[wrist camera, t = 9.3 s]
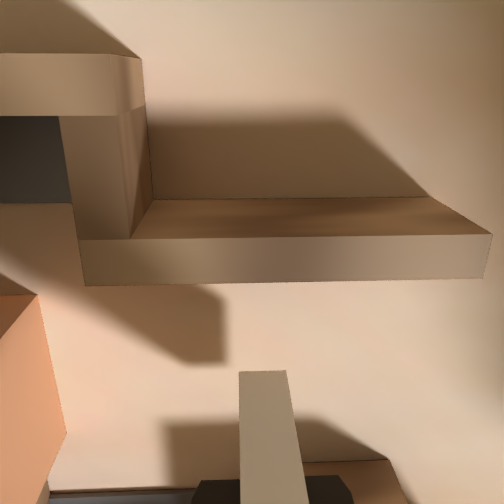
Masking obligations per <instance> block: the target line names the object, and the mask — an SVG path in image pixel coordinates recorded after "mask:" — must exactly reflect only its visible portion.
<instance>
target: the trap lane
mask: <svg viewBox="0 0 504 504" xmlns="http://www.w3.org/2000/svg"><path fill="white" fill-rule="evenodd" d="M0 203H72V205H73V212H74V218H75V224H76V231H77V237H78V243H79V250H80V256H81V263H82V269H83V275H84V282H85V286H117V285H169V284H221V283H273V282H325V281H377V280H429V279H481V278H483V276H484V272H485V267H486V263H487V258H488V254H489V249H490V245H491V240H492V236H493V234H492V233H490V232H488V231H487V230H485V229H483V228H482V227H480V226H479V225H477V224H475V223H474V222H472V221H470V220H469V219H467V218H465V217H464V216H462V215H460V214H459V213H457V212H456V211H454V210H452V209H451V208H449V207H447V206H446V205H444V204H442V203H441V202H439V201H437V200H436V199H434V198H432V197H392V198H297V199H202V200H153V189H152V178H151V166H150V154H149V142H148V130H147V119H146V107H145V95H144V83H143V71H142V59H138V58H132V57H127V56H121V55H115V54H91V53H0ZM302 466H303V472H304V476H320V475H339V477H340V478H341V479H342V481H343V482H344V483H345V485H346V486H347V487H348V489H349V490H350V491H351V494H352V497H353V501H354V504H408V503H407V501H406V498H405V496H404V493H403V491H402V489H401V486H400V484H399V481H398V479H397V477H396V474H395V472H394V469H393V467H392V465H391V462H390V460H371V461H345V462H319V463H302ZM196 490H197V489H174V490H149V491H124V492H100V493H75V494H50V490H49V486H48V482H47V479H46V482H45V484H44V486H43V489H42V491H41V493H40V495H39V498H38V500H37V502H36V504H191V499H192V497H193V495H194V493H195V492H196Z"/></svg>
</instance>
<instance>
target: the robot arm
mask: <svg viewBox="0 0 504 504" xmlns="http://www.w3.org/2000/svg"><path fill="white" fill-rule="evenodd" d="M239 428H240V479H234V480H204V481H201V482H200V484H199V486H198V488H197V490H196V492H195V493H194V495H193V497H192V499H191V504H354V501H353V497H352V494H351V491H350V490H349V489H348V487H347V486H346V485H345V483H344V482H343V481H342V479H341V478H340V477H339V475H320V476H304V472H303V466H302V460H301V454H300V449H299V443H298V437H297V431H296V426H295V420H294V414H293V408H292V403H291V397H290V391H289V385H288V379H287V374H286V370H283V371H243V372H239Z"/></svg>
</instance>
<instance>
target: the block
mask: <svg viewBox="0 0 504 504" xmlns="http://www.w3.org/2000/svg"><path fill="white" fill-rule="evenodd" d="M66 433H67V432H66V427H65V423H64V418H63V413H62V409H61V404H60V399H59V394H58V390H57V385H56V380H55V375H54V371H53V366H52V361H51V357H50V352H49V347H48V342H47V338H46V333H45V328H44V323H43V319H42V314H41V309H40V305H39V300H38V295H5V296H0V504H36V502H37V500H38V498H39V495H40V493H41V491H42V489H43V486H44V484H45V482H46V479H47V477H48V475H49V473H50V470H51V468H52V466H53V463H54V461H55V459H56V456H57V454H58V452H59V450H60V447H61V445H62V443H63V440H64V438H65V436H66Z"/></svg>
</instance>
